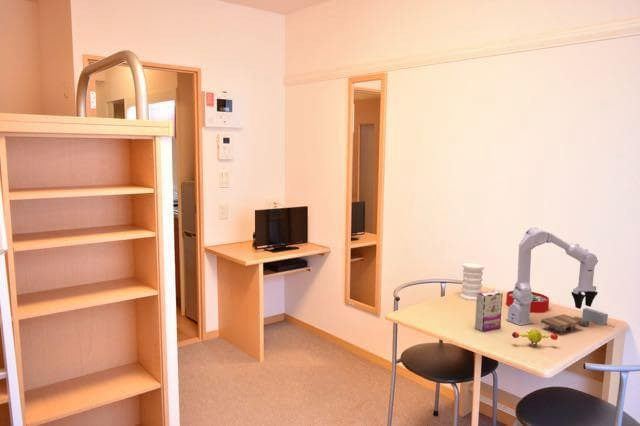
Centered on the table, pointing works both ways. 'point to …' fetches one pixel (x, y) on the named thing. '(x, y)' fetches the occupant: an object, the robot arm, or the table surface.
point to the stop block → (595, 316)
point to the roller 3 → (583, 321)
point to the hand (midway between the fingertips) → (583, 307)
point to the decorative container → (471, 281)
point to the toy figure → (534, 336)
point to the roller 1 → (557, 329)
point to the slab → (561, 321)
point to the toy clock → (537, 305)
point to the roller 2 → (571, 328)
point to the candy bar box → (488, 310)
